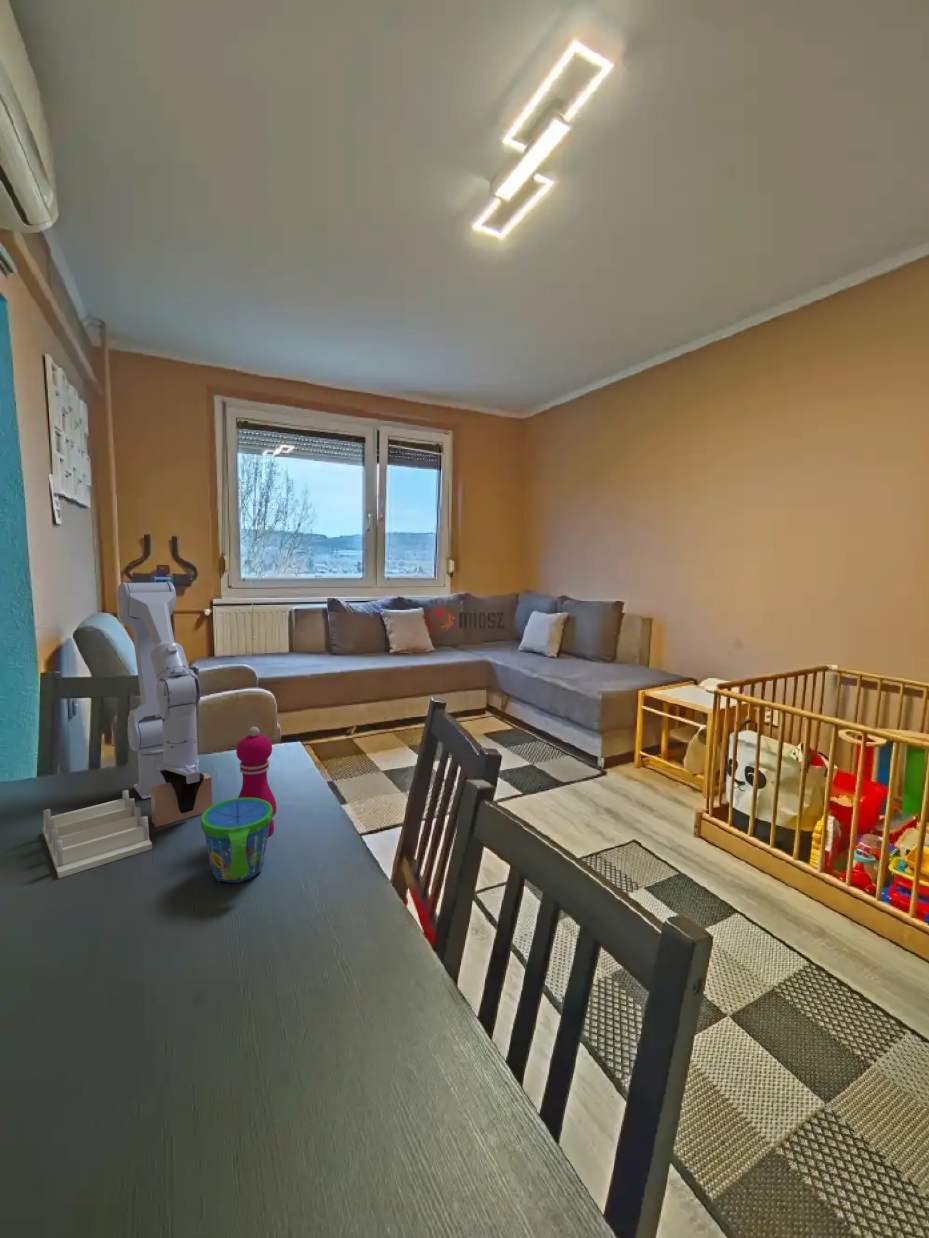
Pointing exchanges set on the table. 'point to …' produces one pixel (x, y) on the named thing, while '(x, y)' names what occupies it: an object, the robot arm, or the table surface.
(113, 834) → the dish rack
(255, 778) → the pepper mill
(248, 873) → the snack cup
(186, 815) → the tile
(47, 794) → the table surface
